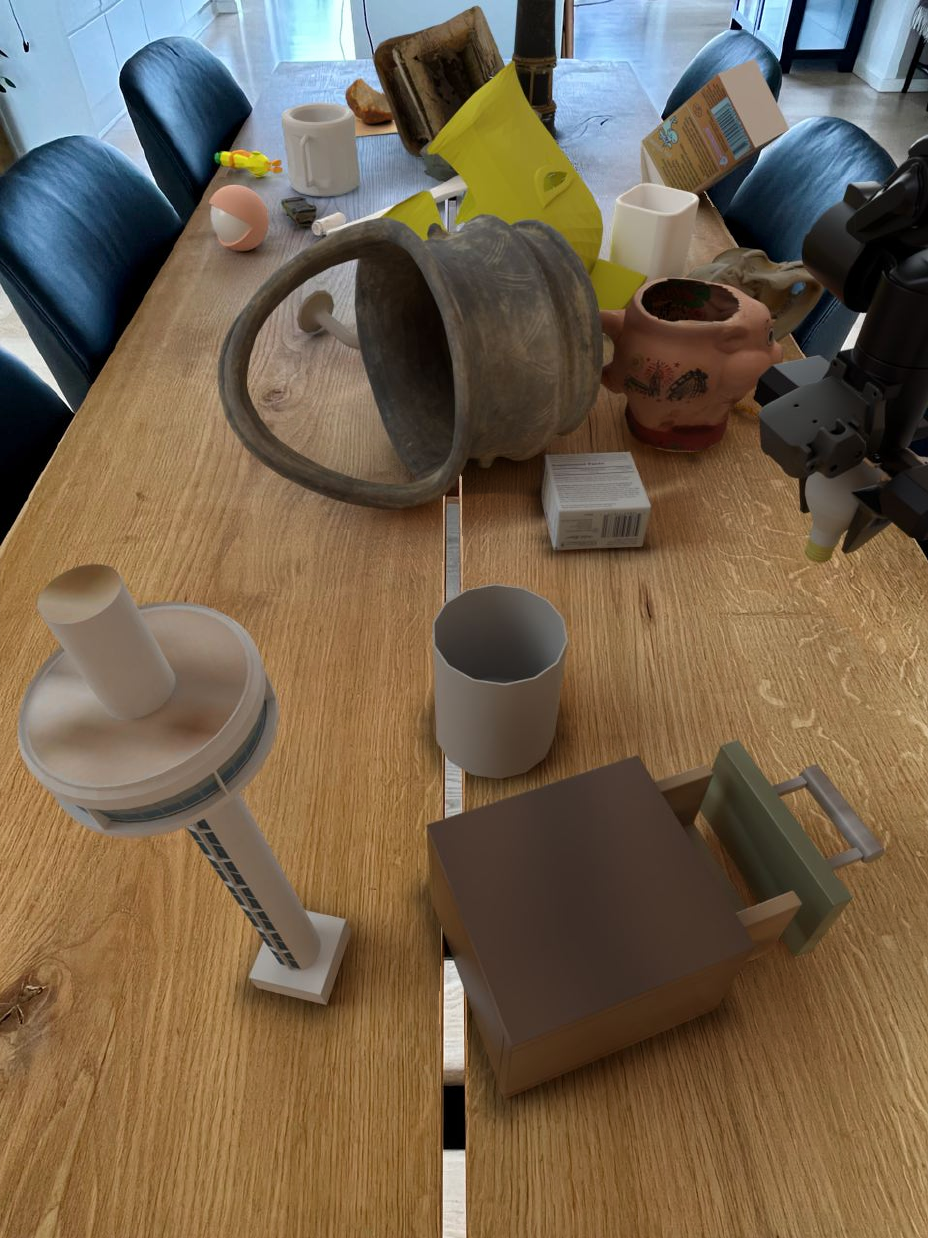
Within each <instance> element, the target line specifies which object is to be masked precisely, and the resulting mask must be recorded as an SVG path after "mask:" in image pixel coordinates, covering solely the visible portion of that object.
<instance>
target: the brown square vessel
mask: <svg viewBox="0 0 928 1238" xmlns="http://www.w3.org/2000/svg"><path fill="white" fill-rule="evenodd" d="M499 50H500V49H499V47H498V45H497V43H496V40H495V38H494V36H493V34H492V31H491V28H490V26H489V23H488V20H487V18H486V15H485V13H484V11H483V9H482V8H481V7H480V6H479V5H473V6H472V7H470V8H468V9H465V10H464V11H462V12H461V13H458V14H457V15H454V16H453V17H452V18H450V19H447V20H446V21H445V22H442V23H439V24H436V25H432V26H429V27H426V28H424V29H421V30H418V31H415V32H412V33H411V32H410V33H405V34H401V35H398V36H393V37H389V38H388V39H385V40H383V41H381V42H380V43H379V44H378V45H377V48H375V50H374V53H373V55H372V57H371V58H372V62H373V65H374V69H375V72H376V75H377V77H378V81H379V84H380V86H381V89H382V92H383V93H384V94H385V96H386V99H387V102H388V104H389V107H390V110H391V112H392V115H393V118H394V121H395V124H396V128H397V131H398V132H397V134H398V136H399V139H400V141H401V144H402V146H403V148H404V149H405V150H406V151H407V153H408V154H409V155H411V156H412V157H414V158H416V159H417V158H423V156H422V155H421V154H420V151H421V149H422V148H423V147H424V146H425V145H427V144H428V143H429V142H431V141H433V140H434V139H435V138H436V136H437V135H438V134H439V132H440V131H441V130H442V129H443V128H444V126H445V125H446V124H447V123H448V122H449V121H450V120H451V119H452V117H453V116H454V115H455V114H456V113H457V112H458V111H459V109H460V108H461V107H462V106H463V105H464V104H465V103H466V102H467V100H468V99H469V98H470V97H471V96H472V95H473V94H474V93H475V92H477V91H478V90H479V89H480V88H481V87H483V86H484V85H485V84H486V83H487V82H489V81H490V80H491V79H492V78H493V77H495V76H496V75H497V74H498V73H499V72H500V71H501V70H502V69H503V68H504V67H505V66H506V65H505V61H504V60H503V58H502V56H501V54H500V53H501V52H500V51H499Z"/></svg>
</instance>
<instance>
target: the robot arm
mask: <svg viewBox="0 0 928 1238" xmlns="http://www.w3.org/2000/svg"><path fill="white" fill-rule="evenodd" d="M907 155H908V157H907V159H905V161H904V162H902V163H901V164H900V165H899V166H898V167H897V168H896V169H895V170H894V171H893V172H892V173H891V174H890V176H888V178H887V179H885V180H884V182H883V183H882V184H880V183H879V182H877V181H876V180H872V181H871V180H869V181H856V182H849V183H848V184H847V185H846V188H845V191H844V195H843V197H842V198H843V199H842V200H840V201H838V202H837V203H834V204H833V205H831V206H830V207H829V208H827V209H826V210H825V211H824V212H823V213H822V214H820V216H819V217H818V218H817V220H816V221H815V222H814V223H813V224H812V226H811V228H810V229H809V231H807V232H806V233H805V235H804V238H803V240H802V246H801V250H800V251H801V255H800V256H801V261H802V262H803V265H804V267H805V269H806V270H807V271H808V272H809V273H810V274H811V275H812V276H813V277H814V278H815V279H816V280H817V281H818V282H819V283H820V284H822V285H823V286H824V289H826V290H827V291H828V292H829V293H830V295H833V296H834V298H835V299H836V300H837V301H839V302H840V303H841V304H842V305H843V306H844V307H845V308H847V310H850V311H852V312H854V313H859V314H865V316H864V319H863V321H862V324H861V327H860V329H859V333H858V335H857V338H856V339H855V343H854V346H853V347H852V348H847V349H843V350H838V351H837V353H836V356H835V358H832V360H831V361H829V360H827V359H825V358H824V357H823V356H822V355H820V354H818V355H813V356H810V357H804V358H800V359H795V360H790V361H785V362H783V363H780V364H775V365H772V366H770V367H769V368H768V369H767V370H766V371H765V372H764V373H762V374H761V375H760V377H759V379H758V383H757V386H756V387H755V391H754V393H753V397H752V400H753V401H754V402H756V403H757V404H758V405H759V406H760V407H761V408H760V409H759V411H758V414H759V415H758V416H759V417H758V425H759V440H760V450H761V451H762V452H763V453H764V455H766V456H769V457H770V458H771V459H772V460H773V461H774V462H775V463H776V464H777V465H778V466H779V467H781V470H782V471H783V472H784V473H785V474H786V475H787V476H788V477H790V478H793V479H798V492H799V493H798V496H799V511H800V512H801V513H802V514H804V515H805V514H809V513H810V510H809V508H808V505H807V501H806V496H805V488H806V481H807V479H808V476H810V475H812V474H814V473H815V472H819V473H821V474H822V475H824V476H825V477H826V478H828V479H832V478H835V477H837V476H839V475H841V474H842V473H844V472H846V471H848V470H850V469H852V468H854V467H856V466H857V465H859V464H860V463H861V462H862V461H863V460H864V461H865V462H866V463H867V464H868V465H870V466H871V467H873V468H880V469H881V470H882V471H883V473H882V475H881V477H880V480H881V481H878V482H877V484H876V485H875V486H871V487H867V488H863V489H859V490H855V491H852V492H851V494H852V495H853V497H854V498H855V499H856V500H857V502H858V503H859V505H858V508H857V510H856V512H855V515H854V517H853V519H852V522H851V524H850V527H849V529H848V530H847V531H846V533H845V536H844V539H843V543H842V547H841V553H843V554H844V555H847V554H848V555H849V554H851V553H854V552H856V551H857V550H859V549H860V548H862V547H863V546H864V545H865V544H867V543H868V542H869V541H871V540H872V539H873V538H874V537H875V536H877V535H878V534H880V533H881V532H882V531H884V529H886V528H887V527H889V526H890V525H891V524H893V525H895V526H896V527H897V528H898V529H899V530H900V531H901V532H903V533H904V534H905V535H906V536H907V537H908V538H910V539H914V540H918V541H922V542H923V541H926V540H928V456H927V457H926V456H919V455H918V454H916V453H915V451H913V450H911V448H909V446H910V445H911V443H912V442H914V441H919V440H922V439H926V438H927V437H928V421H927V420H926V419H925V418H924V415H925V413H926V411H927V408H928V134H926V135H924V136H922V137H920V138H917V140H916V141H915V142H914V143H913V144H911V146H910V147H909V149H908V150H907Z"/></svg>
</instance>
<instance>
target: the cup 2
mask: <svg viewBox="0 0 928 1238" xmlns="http://www.w3.org/2000/svg"><path fill="white" fill-rule="evenodd" d="M614 204H615V206H614V211H613V218H612V219H613V220H612V228H611V233H610V234H611V236H610V243H609V244H610V245H609V255H608V261H609V262H611V263H614V264H617V265H619V266H622V267H625V268H627V269H630V270H633V271H635V272H638V273H641V274H644V275H646V276H648V277H647V280H646V282H645V283H644V285H645V284H646V283H648V282H651V281H653V280H657V279H662V278H683V276H684V272H685V268H686V265H687V264H686V263H687V260H688V256H689V252H690V248H691V242H692V239H693V233H694V229H695V223H696V218H697V213H698V208H699V204H700V198H699V195H697V196H696V195H695V194H693V193H690V192H686V191H682V190H678V189H674V188H670V187H666V186H662V185H657V184H652V183H644V184H641V183H639V184H636V185H635V186H633V187H632V188H630V189H628V190H626V191H625V192H624V193H622V194H621V195H619V196H618V197H617V198H616V199H615V203H614Z"/></svg>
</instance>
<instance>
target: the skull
mask: <svg viewBox="0 0 928 1238" xmlns="http://www.w3.org/2000/svg"><path fill="white" fill-rule="evenodd" d="M685 278H689V279H696V280H701V281H706V282H712V283H718V284H723V285H728V286H732V287H734V288H736V289H738V290H740V291H741V292H743V293H744V294H746V295H747V296H749V297H751V298H752V299H754V300H757V301H759V302H761V303H763V304H764V305H765V306H766V307H767V308H768V310H769V312H770V315H771V320H772V323H773V326H774V340H775V341H776V342H777V343H779V342H780V341H782V340H783V339H784V338H785V337H788V336H789V335H790V334H791V333H792V332H794V331H795V330H796V329H797V328H798V327H799V325H800V324H801V323H802V322H803V321H804V319H805V318H806V317H807V316H808V315H809V314H810V313H811V311H812V310H814V308H815V307H816V305H818V303H819V300H820V299H821V297H822V295H823V293H824V291H825V287H824V286H823V285H822V284H820V283H819V282H818V281H817V280H816V279H815V278H814V277H813V276H812V275H811V274H810V273H809V272H808V271H807V270H806V269H805V267H804V265H803V262H802V260H796V261H782V262H779V263H777V262H774V261H771V260H770V259H769V257H768V255H767V254H766V252H765V251H763V250H761V249H754V248H749V247H733V248H729V249H726V250H724V251H721V252H720V253H719V254H717V255H716V256H715V257H714V259H713V260H712V261H711V263H708V264H705V265H702V266H700V267H698V268H696V269H694V270H693V271H691V272H690V273H689V274H688V275H687V276H686V277H685ZM798 283H801V285H802V289H800V290H798V291H795V292H793V289H794V287H795V285H796V284H798Z"/></svg>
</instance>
